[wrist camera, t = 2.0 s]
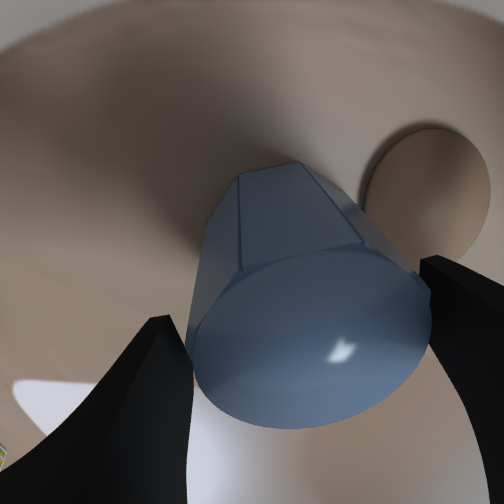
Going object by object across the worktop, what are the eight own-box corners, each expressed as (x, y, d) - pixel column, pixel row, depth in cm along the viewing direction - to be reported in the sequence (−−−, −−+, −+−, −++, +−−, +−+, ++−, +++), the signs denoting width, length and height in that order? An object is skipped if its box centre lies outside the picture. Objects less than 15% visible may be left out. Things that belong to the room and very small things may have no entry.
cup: (342, 154, 12) (444, 229, 6) (354, 278, 14) (414, 398, 8) (194, 185, 12) (152, 292, 6) (231, 304, 15) (230, 440, 9)
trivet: (486, 124, 11) (491, 126, 11) (478, 254, 14) (482, 258, 14) (355, 137, 11) (358, 138, 11) (366, 285, 15) (369, 290, 14)
